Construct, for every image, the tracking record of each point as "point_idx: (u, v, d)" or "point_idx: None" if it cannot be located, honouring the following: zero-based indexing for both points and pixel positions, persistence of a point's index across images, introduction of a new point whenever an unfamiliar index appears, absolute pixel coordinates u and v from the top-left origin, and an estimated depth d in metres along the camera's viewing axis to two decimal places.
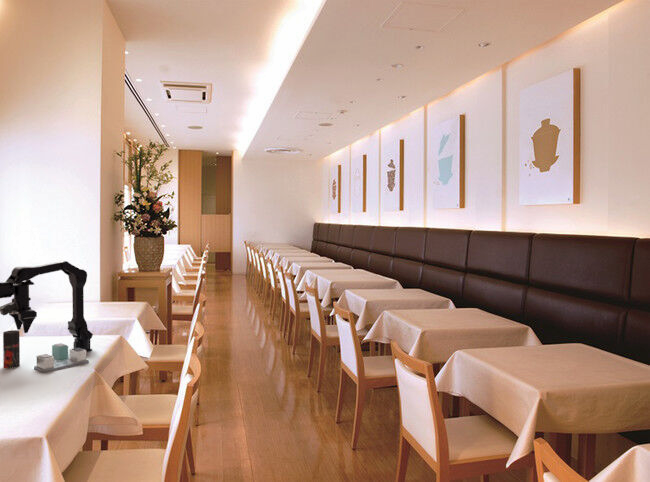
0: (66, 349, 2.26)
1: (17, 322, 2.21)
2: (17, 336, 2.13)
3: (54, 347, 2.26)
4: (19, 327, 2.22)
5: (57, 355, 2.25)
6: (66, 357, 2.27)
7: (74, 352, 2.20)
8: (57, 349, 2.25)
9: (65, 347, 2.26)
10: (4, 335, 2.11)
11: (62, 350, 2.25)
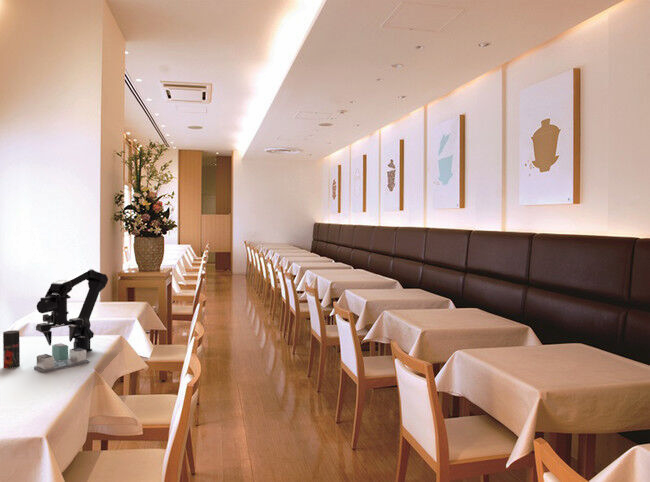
0: (66, 349, 2.26)
1: (70, 333, 2.31)
2: (17, 336, 2.13)
3: (54, 347, 2.26)
4: (70, 339, 2.31)
5: (57, 355, 2.25)
6: (66, 357, 2.27)
7: (74, 352, 2.20)
8: (57, 349, 2.25)
9: (65, 347, 2.26)
10: (4, 335, 2.11)
11: (62, 350, 2.25)
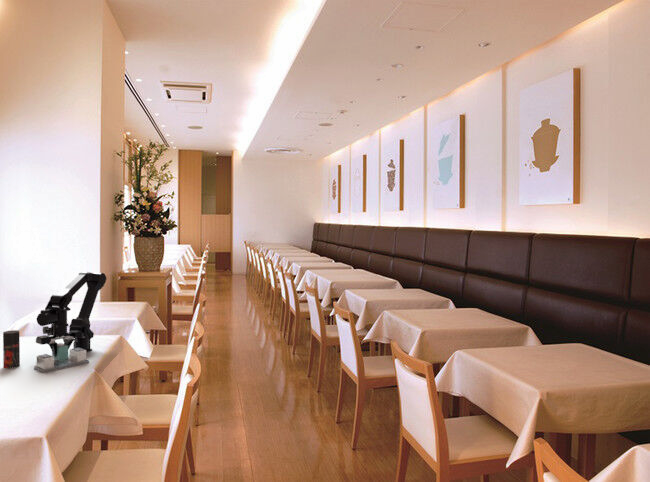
0: (66, 349, 2.26)
1: None
2: (17, 336, 2.13)
3: None
4: None
5: (57, 355, 2.25)
6: (66, 357, 2.27)
7: (74, 352, 2.20)
8: (57, 349, 2.25)
9: (65, 347, 2.26)
10: (4, 335, 2.11)
11: (62, 350, 2.25)
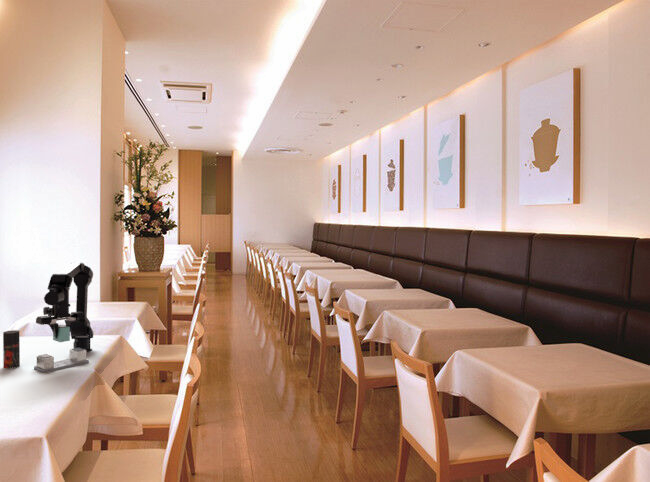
0: (67, 330, 2.15)
1: None
2: (17, 336, 2.13)
3: None
4: None
5: (58, 337, 2.13)
6: (68, 339, 2.15)
7: (74, 352, 2.20)
8: (58, 330, 2.13)
9: (67, 328, 2.15)
10: (4, 335, 2.11)
11: (63, 331, 2.14)
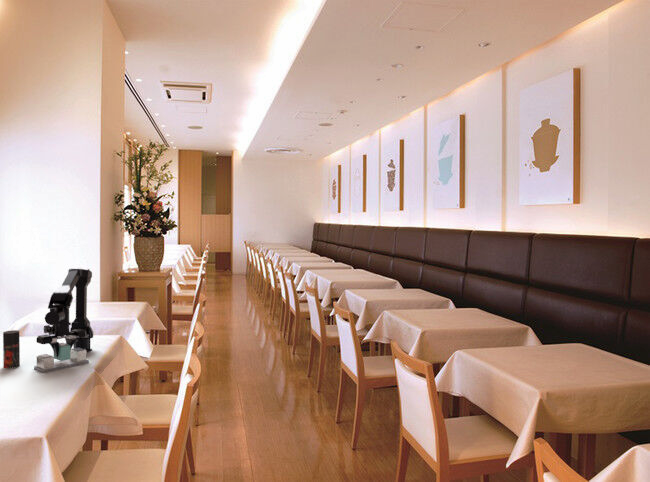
0: (68, 348, 2.15)
1: None
2: (17, 336, 2.13)
3: None
4: None
5: (59, 355, 2.14)
6: (68, 357, 2.16)
7: (74, 352, 2.20)
8: (59, 349, 2.14)
9: (67, 347, 2.15)
10: (4, 335, 2.11)
11: (64, 350, 2.14)
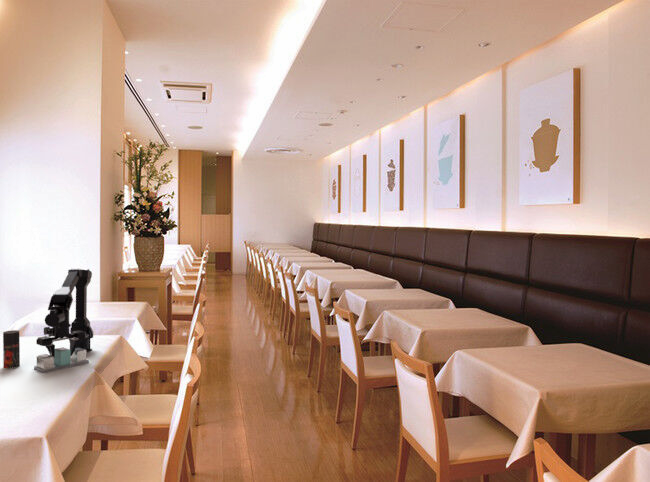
0: (68, 353, 2.15)
1: (71, 347, 2.20)
2: (17, 336, 2.13)
3: (56, 351, 2.15)
4: (70, 353, 2.19)
5: (59, 360, 2.14)
6: (68, 362, 2.16)
7: (74, 352, 2.20)
8: (59, 353, 2.14)
9: (67, 351, 2.15)
10: (4, 335, 2.11)
11: (64, 354, 2.14)
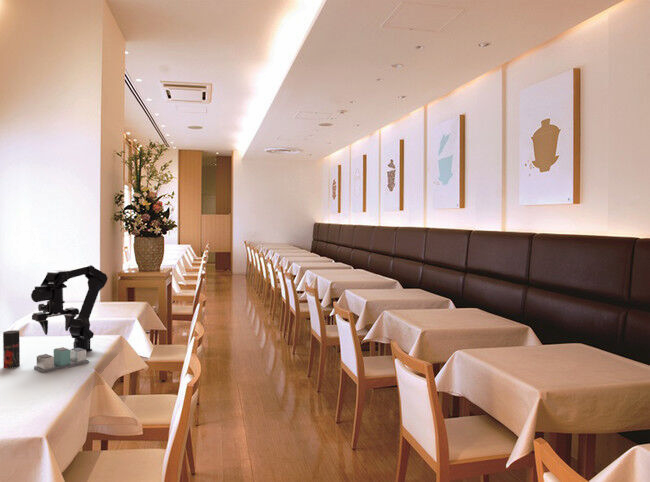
0: (68, 353, 2.15)
1: (66, 323, 2.31)
2: (17, 336, 2.13)
3: (56, 351, 2.15)
4: (66, 329, 2.30)
5: (59, 360, 2.14)
6: (68, 362, 2.16)
7: (74, 352, 2.20)
8: (59, 353, 2.14)
9: (67, 351, 2.15)
10: (4, 335, 2.11)
11: (64, 354, 2.14)
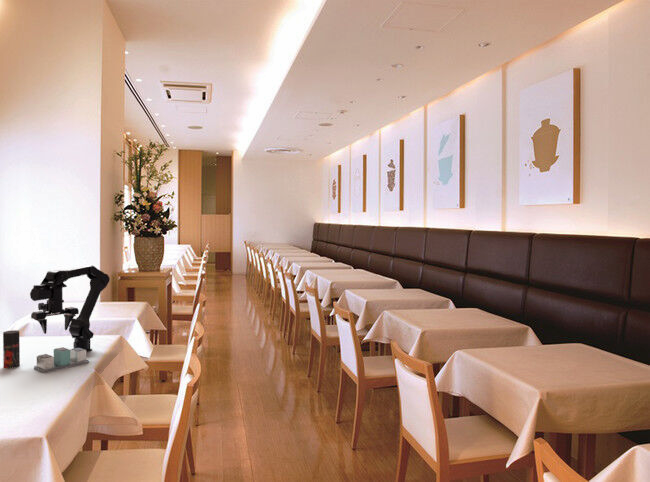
0: (68, 353, 2.15)
1: (65, 322, 2.31)
2: (17, 336, 2.13)
3: (56, 351, 2.15)
4: (65, 328, 2.31)
5: (59, 360, 2.14)
6: (68, 362, 2.16)
7: (74, 352, 2.20)
8: (59, 353, 2.14)
9: (67, 351, 2.15)
10: (4, 335, 2.11)
11: (64, 354, 2.14)
